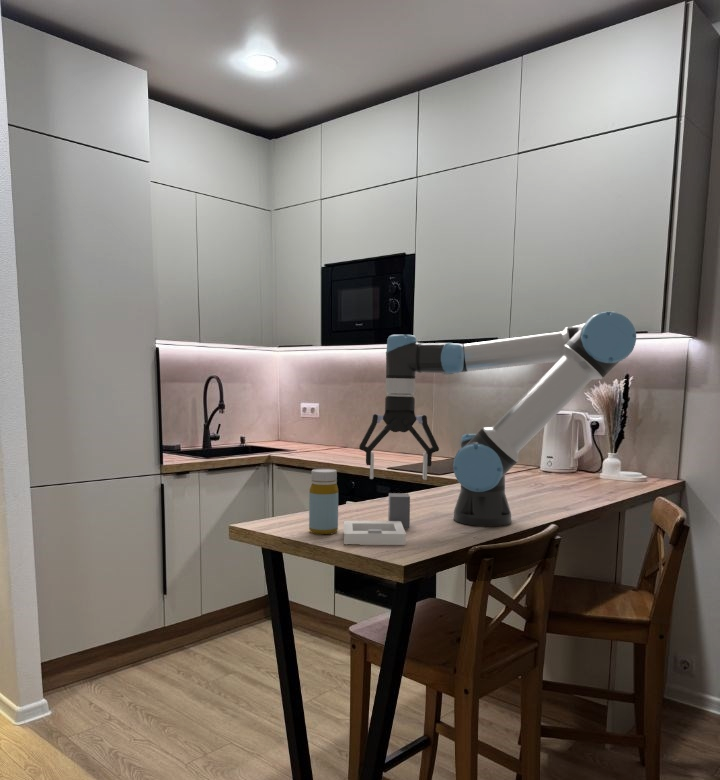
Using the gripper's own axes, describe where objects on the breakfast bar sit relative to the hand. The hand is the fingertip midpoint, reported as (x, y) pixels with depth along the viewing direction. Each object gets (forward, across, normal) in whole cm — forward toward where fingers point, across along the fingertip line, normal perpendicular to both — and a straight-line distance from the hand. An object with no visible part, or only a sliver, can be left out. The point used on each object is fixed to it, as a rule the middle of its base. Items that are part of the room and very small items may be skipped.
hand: (398, 478), depth 158 cm
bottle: (+12, +19, +6) cm, 23 cm away
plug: (+12, 0, 0) cm, 12 cm away
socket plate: (+12, +7, +12) cm, 18 cm away
